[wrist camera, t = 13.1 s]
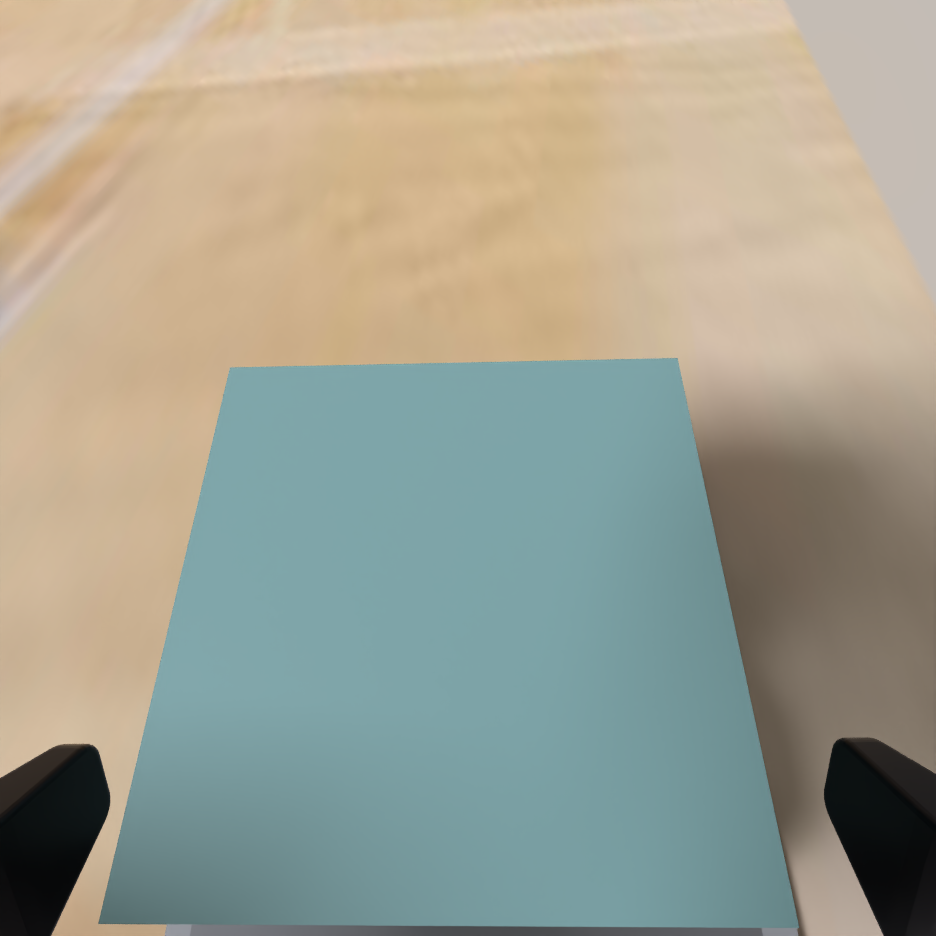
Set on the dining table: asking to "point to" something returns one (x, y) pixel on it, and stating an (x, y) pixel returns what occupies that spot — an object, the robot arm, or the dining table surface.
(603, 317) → the dining table surface
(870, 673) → the dining table surface
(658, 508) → the teal block
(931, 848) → the robot arm
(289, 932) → the well
